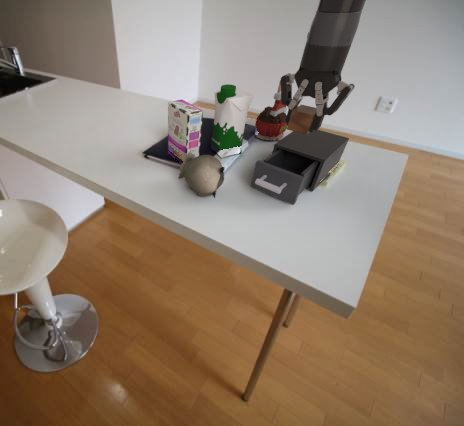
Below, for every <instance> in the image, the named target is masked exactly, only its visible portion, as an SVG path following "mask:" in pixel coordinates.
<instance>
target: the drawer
mask: <svg viewBox="0 0 464 426" xmlns="http://www.w3.org/2000/svg"><path fill="white" fill-rule="evenodd" d="M319 165H320V162H319V161H316V160H313V159H310V158H307V157H304V156H301V155H298V154H294V153H291V152H288V151H285V150H282V149H278V150H277V151H275V152H274V153H273V154H272V153H271V154H269V155H268V156H266V158H264V159H263V161H262V160H259V159H258V160H256V162H255V165H254V170H253V174H252V179H251V183H250V187H251V188H252V189H256V190H258V191H260V192H262V193H264V194H267V195H269V196H271V197H274V198H276V199H278V200H281V201H283V202H285V203H288V204H290V205H292V206H295V204H296V203H297V200H298V197H299V196H300V195H301V194H302V193H304V191H305V190H307V189H306V188H307V187H308V186H309V185H310V184H311V183H312V182H313V180H314V177H315V175H316V172H317V170H318V167H319Z"/></svg>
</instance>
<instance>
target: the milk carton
mask: <svg viewBox="0 0 464 426" xmlns="http://www.w3.org/2000/svg"><path fill="white" fill-rule="evenodd" d="M254 97H255V96H254V94H252V93H250V92H248V91H246V90H243V89H242V88H240V87H237V86H236V85H234V84H222V85H221V86H220V90H217V91H214V116H213V117H214V118H213V126H212V135H211V140H210V145H211V144H212V145H213V146H215V147H216V148H218V149H219V150H223V149H229V148H233V147H237V146H238V147H240V146H242V147H243V141H244V134H245V129H246V128H245V127H246V123H247V118H248V112H249V109H250V106H251V103H252V100H253V98H254ZM241 154H242V151H241V152H240V153H239V154H238V155H241Z"/></svg>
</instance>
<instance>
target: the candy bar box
mask: <svg viewBox="0 0 464 426" xmlns="http://www.w3.org/2000/svg"><path fill="white" fill-rule="evenodd" d="M167 106H168V108H167V111H168V112H167V154H168V155H169V156H170V157H172V158H173V159H174V160H175V157H174V156H173V155H172V154H171V153H170V152H172V153H173V154H174V155H175V156H177V157H178V158H179V159H181V160H182V161H183V158H182V156H183V155H184V154H185V153H187V154H188V153H189V152H190V153H192V154H193V155H194V158H196V157H198V156H200V152H201V151H200V149H201V138H202V129H203V117H204V110H203V109H201V108H199V107H197V106H195V105H193V104H192V103H190V102H188V101H186V100H184V99H177V100H172V101H168V104H167ZM168 150H169V151H170V152H169V151H168ZM175 161H176V162H177V160H175ZM178 163H179V164H180V165H181V164H182V163H180V162H178Z"/></svg>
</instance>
